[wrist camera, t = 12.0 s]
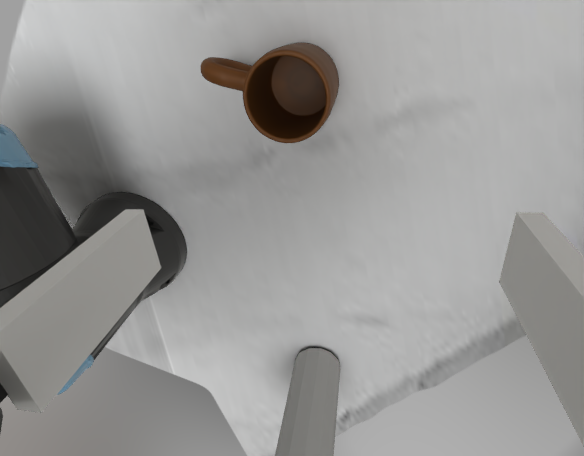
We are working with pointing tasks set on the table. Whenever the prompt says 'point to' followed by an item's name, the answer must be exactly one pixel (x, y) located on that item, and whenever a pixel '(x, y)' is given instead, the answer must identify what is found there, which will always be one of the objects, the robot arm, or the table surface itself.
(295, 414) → the water bottle
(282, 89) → the mug
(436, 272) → the table surface
